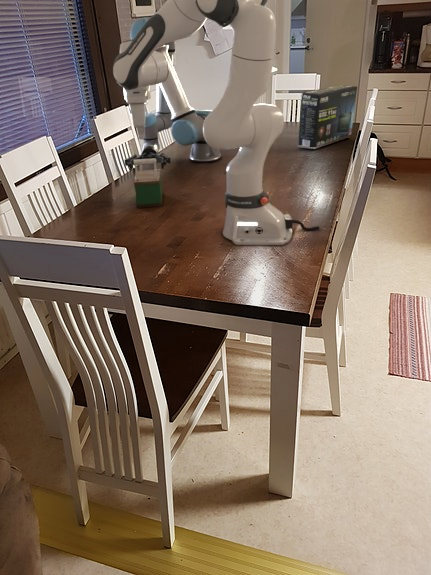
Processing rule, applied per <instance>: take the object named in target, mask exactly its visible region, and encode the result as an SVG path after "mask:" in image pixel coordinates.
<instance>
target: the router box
mask: <svg viewBox="0 0 431 575" xmlns="http://www.w3.org/2000/svg"><path fill="white" fill-rule="evenodd" d="M357 93H358V86H356V85H350V84H339V85H338V84H337V85H334V86H328V87H324V88H318V89H314V90H309V91H304V92H301V93H300V109H299V110H300V111H299V124H298V137H297V146H298V145H302V146H307V147H317V146H320V145H323V144H325V143H328V142H331V141H333V140H336V139H338V138H341V137H344V136H347V135H351V136H352V133H353V132H352V131H353V125H354V115H355V109H356V99H357ZM311 151H313V150H312V149H311Z"/></svg>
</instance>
